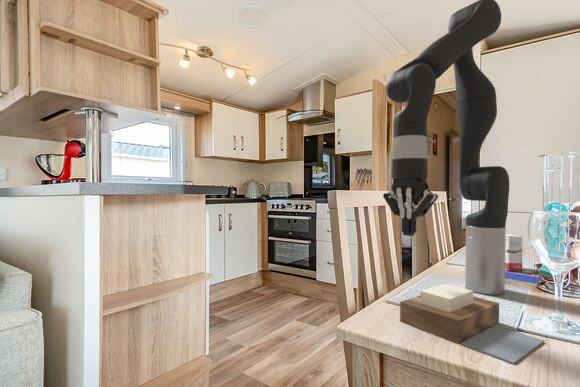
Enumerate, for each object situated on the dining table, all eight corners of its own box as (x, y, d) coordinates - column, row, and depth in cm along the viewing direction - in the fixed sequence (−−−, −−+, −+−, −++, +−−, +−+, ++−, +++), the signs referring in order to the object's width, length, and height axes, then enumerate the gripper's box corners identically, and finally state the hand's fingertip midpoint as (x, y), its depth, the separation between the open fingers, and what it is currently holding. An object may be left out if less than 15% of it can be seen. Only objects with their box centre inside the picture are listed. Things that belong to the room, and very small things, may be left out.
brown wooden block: (442, 305, 77) (442, 288, 77) (498, 322, 67) (499, 302, 67) (400, 321, 68) (400, 301, 67) (458, 343, 58) (458, 320, 58)
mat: (495, 326, 65) (495, 325, 65) (544, 342, 58) (544, 340, 58) (461, 344, 57) (461, 342, 57) (513, 364, 51) (513, 362, 51)
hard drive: (487, 273, 103) (536, 282, 94) (495, 269, 108) (542, 277, 99) (487, 278, 103) (536, 287, 94) (495, 274, 108) (542, 282, 99)
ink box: (523, 271, 110) (523, 236, 110) (508, 271, 110) (508, 236, 110) (506, 265, 118) (507, 232, 118) (492, 265, 118) (493, 232, 118)
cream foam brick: (444, 295, 72) (444, 283, 72) (473, 303, 67) (473, 290, 67) (420, 303, 67) (420, 291, 66) (449, 312, 62) (449, 299, 62)
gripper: (447, 156, 71) (446, 237, 71) (395, 160, 81) (394, 231, 81) (427, 154, 66) (426, 240, 66) (374, 159, 77) (374, 233, 77)
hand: (408, 235), depth 74 cm, fingers closed
